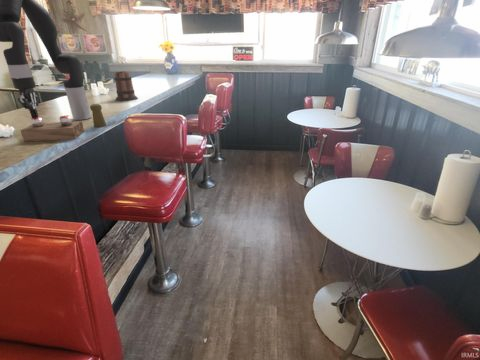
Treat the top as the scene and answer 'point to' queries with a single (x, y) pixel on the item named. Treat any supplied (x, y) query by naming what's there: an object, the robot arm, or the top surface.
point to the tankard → (124, 87)
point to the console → (52, 131)
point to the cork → (97, 115)
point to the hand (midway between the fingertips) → (35, 117)
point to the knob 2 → (65, 120)
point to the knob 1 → (36, 122)
